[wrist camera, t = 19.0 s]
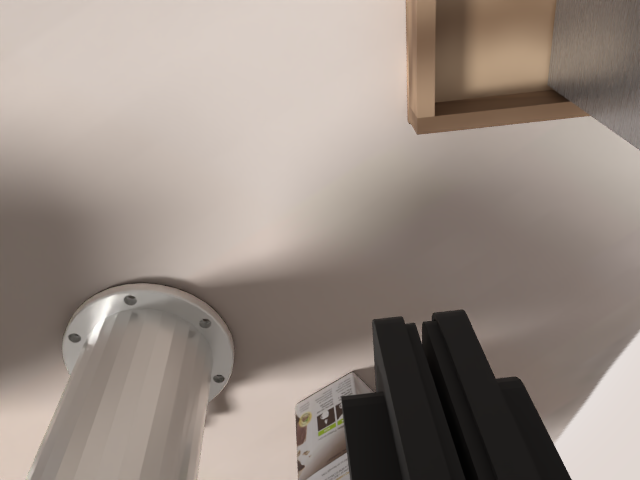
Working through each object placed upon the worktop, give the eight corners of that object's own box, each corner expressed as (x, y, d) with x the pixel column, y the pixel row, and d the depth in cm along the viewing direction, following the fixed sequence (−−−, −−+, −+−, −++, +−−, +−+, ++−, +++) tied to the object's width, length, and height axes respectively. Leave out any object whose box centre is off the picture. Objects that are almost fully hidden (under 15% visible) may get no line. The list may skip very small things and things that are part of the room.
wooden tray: (673, 91, 37) (703, 106, 34) (407, 120, 37) (417, 137, 34) (714, -89, 32) (752, -87, 29) (405, -56, 32) (416, -52, 29)
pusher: (566, 82, 35) (750, 202, 22) (547, 85, 35) (718, 205, 22) (582, -41, 32) (812, 9, 18) (560, -39, 32) (775, 13, 18)
